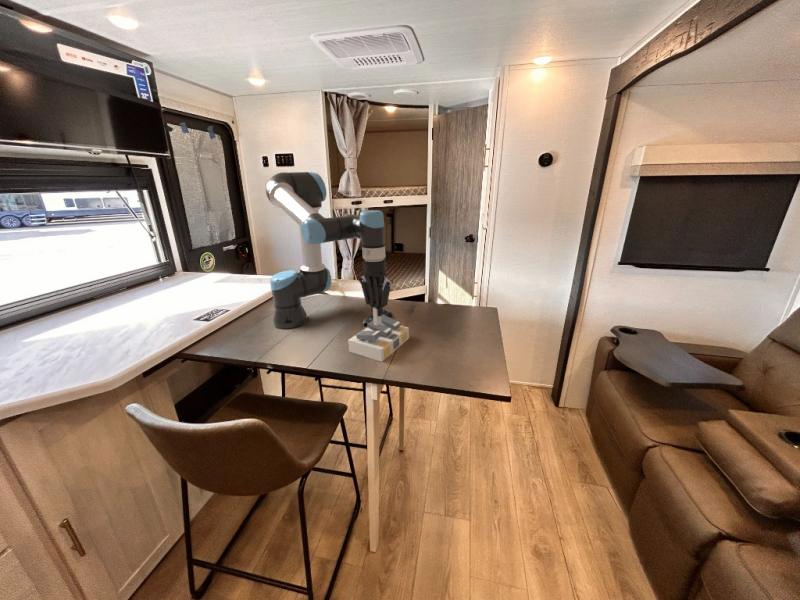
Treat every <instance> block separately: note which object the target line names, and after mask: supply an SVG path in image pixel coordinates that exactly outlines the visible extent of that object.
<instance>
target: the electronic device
mask: <svg viewBox="0 0 800 600" xmlns="http://www.w3.org/2000/svg"><path fill="white" fill-rule="evenodd" d="M394 314H395V313H394V312H392V311H387V310H385V309H383V315H385V316H387V317H389V318H392V319H393V317H394ZM371 321H373V315H372V314H371V315H370V316H368V317H366V318H364V319H363V320H362V325H363V326H364V329H366V328H367V326H366V325H367V324H368V323H370V322H371Z"/></svg>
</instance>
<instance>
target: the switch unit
mask: <svg viewBox="0 0 800 600" xmlns="http://www.w3.org/2000/svg"><path fill="white" fill-rule="evenodd" d="M380 324H381V323H380ZM382 325H383V324H382ZM384 326H385V325H384ZM389 328H390V327H389ZM391 329H392V328H391ZM409 329H410V328H409V327H408V326H404V325H400V327H399V328H397V329H396V330H394V329H392V333H391V334H389V335H388V336H387V337H385V336H383V335H382V336H380V337H379V338H378V339H376V340H372V339H357V337H356V335H357V334H358V333H360V332H361V331H373V330H371V329H369V328H367V327H366V328H364V329H362V330H361V331H359V332H358V333H356V334H355V335H353V336H352V337H351V338H349V339H348V340H347V341H348V352H350V353H352V354H356V355H358V356H363V357H366V358H368V359H372V360H374V361H378V362H381V363H383V362H384V361H385V360H386V359H387V358H388V357H390V356H391V354H393V353H394V352H395V351H396V350H398V348H400V346H401V347H402V345H403V344H404V343H405V342H407V340H409V339H410V335H409V334H410V333H409V332H410V330H409Z"/></svg>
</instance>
